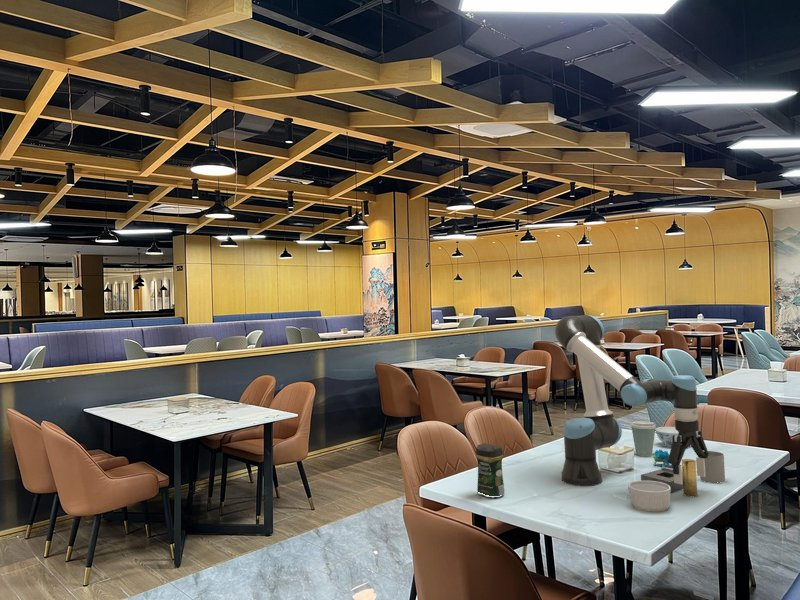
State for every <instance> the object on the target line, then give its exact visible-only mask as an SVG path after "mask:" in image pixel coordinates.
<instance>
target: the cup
mask: <svg viewBox="0 0 800 600" xmlns="http://www.w3.org/2000/svg"><path fill="white" fill-rule="evenodd" d="M708 453H709V454H708V458H705V475H706V477H701V476H699V478H700V479H699V480H700V481H702V482H704V481H705V483H708V482H711V483H710V484H721V483H720V482H724V481H725V482H726V471H725V457H724V456H725V455H724V453H722V452H719V451H714V450H708ZM717 482H718V483H717ZM725 482H724V483H725Z"/></svg>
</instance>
